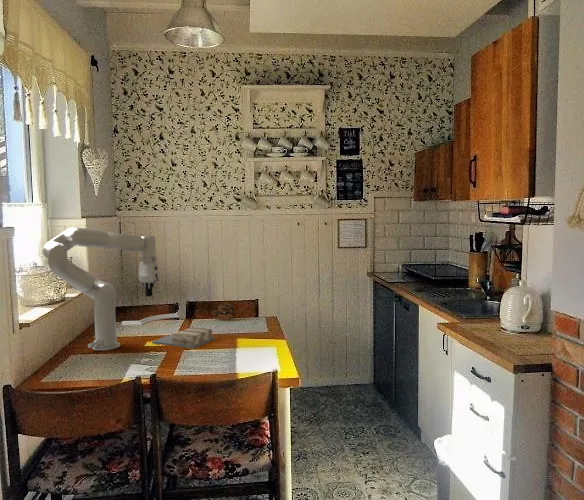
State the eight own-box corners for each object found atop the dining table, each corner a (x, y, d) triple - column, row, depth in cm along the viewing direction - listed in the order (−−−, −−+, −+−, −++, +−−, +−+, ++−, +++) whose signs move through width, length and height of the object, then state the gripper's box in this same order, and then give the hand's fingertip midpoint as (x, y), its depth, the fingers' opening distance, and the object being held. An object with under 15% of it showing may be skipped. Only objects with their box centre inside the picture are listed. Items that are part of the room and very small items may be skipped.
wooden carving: (210, 320, 296) (209, 304, 295) (213, 319, 301) (212, 302, 300) (236, 321, 293) (236, 304, 292) (239, 319, 297) (238, 303, 296)
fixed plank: (192, 345, 237) (192, 336, 237) (182, 344, 240) (182, 335, 239) (212, 337, 251) (211, 329, 251) (202, 336, 254) (201, 328, 254)
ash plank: (184, 344, 239) (184, 335, 239) (172, 343, 242) (172, 334, 242) (204, 336, 254) (203, 328, 253) (192, 335, 257) (192, 327, 256)
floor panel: (193, 348, 236) (193, 346, 236) (152, 343, 246) (152, 341, 246) (214, 339, 252) (214, 337, 252) (175, 335, 263) (175, 333, 263)
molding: (178, 313, 321) (178, 309, 321) (189, 316, 313) (189, 311, 313) (118, 326, 289) (117, 321, 289) (129, 328, 281) (129, 323, 281)
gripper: (164, 260, 251) (165, 296, 253) (142, 259, 258) (142, 294, 259) (154, 261, 245) (155, 298, 246) (131, 260, 251) (132, 296, 252)
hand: (149, 296), depth 252 cm, fingers closed
